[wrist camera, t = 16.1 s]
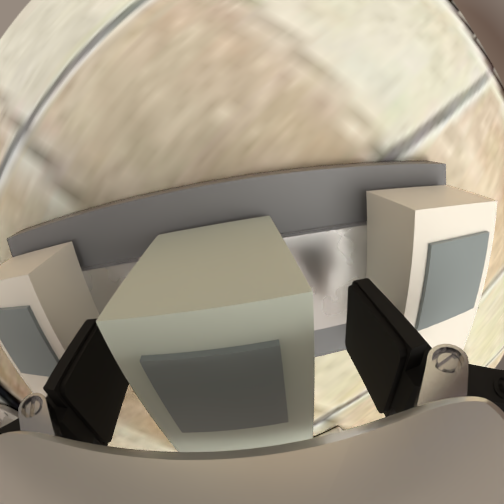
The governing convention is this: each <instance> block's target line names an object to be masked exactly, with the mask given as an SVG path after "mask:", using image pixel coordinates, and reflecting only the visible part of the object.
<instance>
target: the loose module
mask: <svg viewBox="0 0 504 504" xmlns="http://www.w3.org/2000/svg"><path fill="white" fill-rule="evenodd" d="M96 323H97V325H98V327H99V329H100V331H101V333H102V335H103V337H104V339H105V341H106V343H107V345H108V347H109V349H110V351H111V353H112V355H113V356H114V358H115V360H116V362H117V364H118V365H119V367H120V369H121V371H122V372H123V374H124V376H125V377H126V379H127V381H128V382H129V384H130V385H131V387H132V389H133V390H134V392H135V393H136V395H137V396H138V398H139V399H140V401H141V402H142V404H143V405H144V407H145V408H146V410H147V411H148V413H149V414H150V416H151V417H152V418H153V420H154V421H155V422H156V424H157V425H158V427H159V428H160V429H161V431H162V432H163V433H164V434H165V436H166V437H167V438H168V440H169V441H170V442H171V443H172V445H173V446H174V447H175V448H176V450H177V451H178V452H215V451H231V450H242V449H251V448H260V447H267V446H274V445H281V444H286V443H292V442H297V441H302V440H307V439H312V438H313V420H314V310H313V291H312V289H311V287H310V285H309V284H308V282H307V280H306V278H305V276H304V275H303V273H302V271H301V269H300V268H299V266H298V264H297V262H296V260H295V259H294V257H293V255H292V253H291V252H290V250H289V248H288V246H287V245H286V243H285V241H284V240H283V238H282V236H281V234H280V233H279V231H278V229H277V227H276V226H275V224H274V222H273V221H272V219H271V217H270V216H263V217H256V218H250V219H244V220H238V221H232V222H226V223H220V224H214V225H208V226H203V227H197V228H192V229H186V230H181V231H175V232H170V233H165V234H160V235H158V236H157V237H156V238H155V239H154V241H153V242H152V243H151V244H150V246H149V247H148V248H147V250H146V251H145V252H144V254H143V255H142V256H141V257H140V259H139V260H138V261H137V263H136V264H135V266H134V267H133V268H132V270H131V271H130V272H129V274H128V275H127V276H126V278H125V279H124V281H123V282H122V283H121V285H120V286H119V288H118V289H117V290H116V292H115V293H114V295H113V296H112V298H111V299H110V301H109V302H108V304H107V305H106V306H105V308H104V309H103V311H102V312H101V314H100V315H99V317H98V319H97V320H96Z"/></svg>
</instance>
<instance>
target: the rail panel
mask: <svg viewBox="0 0 504 504" xmlns="http://www.w3.org/2000/svg"><path fill="white" fill-rule="evenodd" d="M437 185H446V164H443V163H437V162H431V161H397V162H371V163H354V164H339V165H327V166H316V167H306V168H297V169H288V170H280V171H272V172H264V173H257V174H250V175H243V176H237V177H231V178H225V179H219V180H213V181H207V182H202V183H197V184H191V185H186V186H181V187H176V188H171V189H167V190H162V191H158V192H153V193H149V194H144V195H140V196H136V197H132V198H128V199H124V200H120V201H116V202H112V203H108V204H104V205H101V206H97V207H94V208H90V209H87V210H83V211H80V212H76V213H73V214H70V215H66V216H63V217H60V218H57V219H54V220H51V221H48V222H45V223H42V224H39V225H36V226H33V227H30V228H27V229H24V230H22V231H20V232H18V233H16V234H14V235H12V236H11V237H9V238H7V241H8V244H9V247H10V250H11V253H12V256H13V257H15V256H19V255H22V254H26V253H29V252H33V251H37V250H40V249H44V248H48V247H51V246H55V245H59V244H63V243H67V242H71V241H72V243H73V246H74V249H75V253H76V256H77V259H78V261H79V264H80V267H81V270H82V273H83V275H84V278H85V281H86V283H87V286H88V289H89V291H90V294H91V296H92V298H93V301H94V303H95V306H96V308H97V310H98V312H99V315H100V314H101V312H102V311H103V309H104V308H105V306H106V305H107V304H108V302H109V301H110V299H111V298H112V296H113V295H114V293H115V292H116V290H117V289H118V288H119V286H120V285H121V283H122V282H123V281H124V279H125V278H126V276H127V275H128V274H129V272H130V271H131V270H132V268H133V267H134V266H135V264H136V263H137V261H138V260H139V259H140V257H141V256H142V255H143V254H144V252H145V251H146V250H147V248H148V247H149V246H150V244H151V243H152V242H153V241H154V239H155V238H156V237H157V236H158V235H160V234H165V233H170V232H175V231H181V230H186V229H192V228H197V227H203V226H208V225H214V224H220V223H226V222H232V221H238V220H244V219H250V218H256V217H263V216H270V217H271V219H272V221H273V222H274V224H275V226H276V227H277V229H278V231H279V233H280V234H281V236H282V238H283V240H284V241H285V243H286V245H287V246H288V248H289V250H290V252H291V253H292V255H293V257H294V259H295V260H296V262H297V264H298V266H299V268H300V269H301V271H302V273H303V275H304V276H305V278H306V280H307V282H308V284H309V285H310V287H311V289H312V291H313V310H314V357H317V356H322V355H326V354H330V353H334V352H338V351H342V350H346V346H345V335H346V320H347V299H348V286H350V285H352V282H353V281H354V280H359V279H364V278H366V266H367V197H366V191H372V190H383V189H395V188H407V187H421V186H437Z"/></svg>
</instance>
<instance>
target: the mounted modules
mask: <svg viewBox="0 0 504 504" xmlns="http://www.w3.org/2000/svg"><path fill="white" fill-rule="evenodd" d="M366 197H367V266H366V278H369V279H370V280H371V281H372V282H373V283H374V284H375V285H376V287H377V288H378V289H379V290H380V291H381V292H382V293H383V294H384V295H385V296H386V297H387V298H388V299H389V300H390V301H391V302H392V304H393V305H394V306H395V307H396V308H397V309H398V310H399V311H400V312H401V313H402V314H403V315H404V316H405V318H406V319H407V320H408V321H409V322H410V323H411V324H412V325H413V327H414V328H415V329H416V330H417V331H418V332H419V333H420V335H421V336H422V337H423V338H424V339H425V340H426V342H427V343H428V344H429V345H430V346H431V347H432V348H433V347H435V346H437V345H440V344H452V345H456V346H457V347H459V348H461V349H462V350H463V349H464V346H465V344H466V341H467V339H468V336H469V333H470V330H471V327H472V325H473V322H474V319H475V315H476V312H477V309H478V306H479V302H480V299H481V295H482V291H483V287H484V283H485V279H486V275H487V270H488V266H489V261H490V255H491V250H492V244H493V237H494V230H495V221H496V211H497V201H496V200H493V199H491V198H488V197H485V196H482V195H479V194H476V193H472V192H469V191H466V190H463V189H459V188H456V187H453V186H449V185H437V186H421V187H407V188H395V189H383V190H372V191H366ZM98 317H99V312H98V310H97V308H96V306H95V303H94V301H93V298H92V296H91V294H90V291H89V289H88V286H87V283H86V281H85V278H84V275H83V273H82V270H81V267H80V264H79V261H78V259H77V256H76V253H75V249H74V246H73V243H72V241H71V242H67V243H63V244H59V245H55V246H51V247H48V248H44V249H40V250H37V251H33V252H29V253H26V254H22V255H19V256H15V257H12V258H10V259H8V260H7V261H5V262H4V263H2V264H1V265H0V345H1V347H2V348H3V350H4V352H5V353H6V355H7V357H8V358H9V360H10V361H11V363H12V364H13V366H14V367H15V369H16V370H17V372H18V373H19V375H20V376H21V378H22V379H23V380H24V382H25V383H26V384H27V386H28V387H29V388H30V390H31V391H32V392H33V393H41V394H43V395H44V396H45V397H46V396H47V393H46V392H45V391H44V389H43V387H44V385H45V384H46V382H47V380H48V378H49V377H50V375H51V373H52V372H53V370H54V368H55V367H56V365H57V363H58V362H59V360H60V358H61V357H62V355H63V354H64V352H65V351H66V349H67V347H68V346H69V344H70V343H71V341H72V340H73V338H74V337H75V335H76V334H77V332H78V331H79V329H80V328H81V326H82V325H83V323H84V322H85V321H86V320H87V319H96V318H98Z"/></svg>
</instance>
